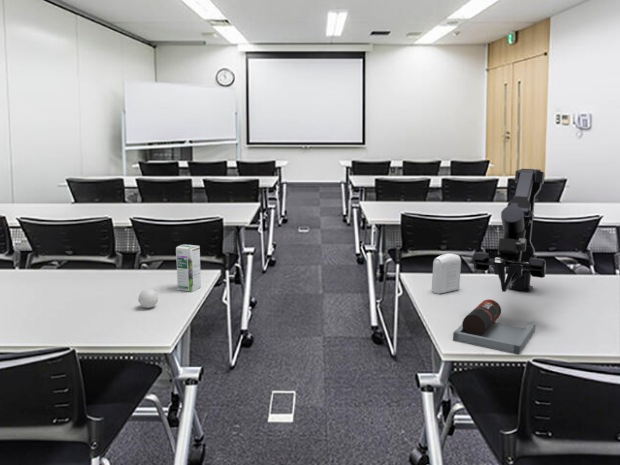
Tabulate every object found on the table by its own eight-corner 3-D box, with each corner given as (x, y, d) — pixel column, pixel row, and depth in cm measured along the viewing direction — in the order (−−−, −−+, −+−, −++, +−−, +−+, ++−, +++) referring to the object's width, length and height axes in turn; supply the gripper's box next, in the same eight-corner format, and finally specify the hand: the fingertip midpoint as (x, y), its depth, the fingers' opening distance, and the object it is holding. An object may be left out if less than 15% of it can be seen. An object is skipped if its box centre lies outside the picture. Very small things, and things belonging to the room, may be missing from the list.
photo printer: (451, 286, 185) (453, 250, 183) (461, 289, 182) (463, 253, 179) (429, 291, 180) (431, 254, 177) (439, 295, 176) (441, 257, 174)
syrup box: (176, 290, 181) (174, 247, 178) (187, 285, 186) (185, 243, 183) (191, 292, 179) (189, 248, 176) (201, 287, 184) (200, 244, 181)
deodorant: (480, 319, 154) (463, 336, 142) (478, 298, 153) (461, 313, 141) (501, 321, 151) (486, 338, 138) (500, 299, 150) (484, 315, 138)
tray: (474, 319, 154) (474, 312, 154) (534, 330, 145) (535, 323, 145) (452, 339, 139) (453, 332, 139) (518, 354, 131) (519, 346, 130)
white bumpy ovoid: (162, 305, 165) (161, 287, 164) (151, 311, 160) (150, 293, 159) (141, 303, 168) (139, 285, 167) (129, 308, 163) (128, 290, 162)
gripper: (475, 223, 154) (464, 271, 146) (548, 229, 145) (540, 280, 138) (479, 245, 162) (469, 291, 154) (548, 252, 153) (541, 301, 146)
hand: (503, 291), depth 148 cm, fingers closed
